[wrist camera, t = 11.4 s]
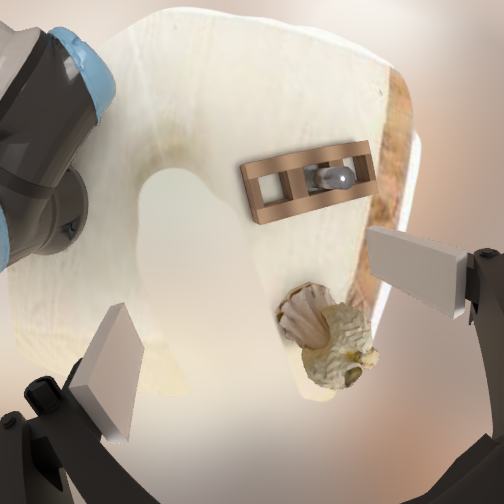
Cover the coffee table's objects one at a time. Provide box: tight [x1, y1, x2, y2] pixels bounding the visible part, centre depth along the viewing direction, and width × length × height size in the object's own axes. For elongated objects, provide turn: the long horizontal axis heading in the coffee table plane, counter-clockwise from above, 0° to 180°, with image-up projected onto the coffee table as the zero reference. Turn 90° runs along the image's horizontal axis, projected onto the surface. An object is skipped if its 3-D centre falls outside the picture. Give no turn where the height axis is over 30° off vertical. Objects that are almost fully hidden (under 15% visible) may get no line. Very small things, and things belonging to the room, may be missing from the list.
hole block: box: [240, 140, 378, 225], centre depth 45 cm, size 21×9×4 cm, turn 104°
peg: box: [303, 166, 355, 190], centre depth 41 cm, size 3×3×12 cm
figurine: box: [275, 282, 379, 390], centre depth 43 cm, size 12×12×20 cm
